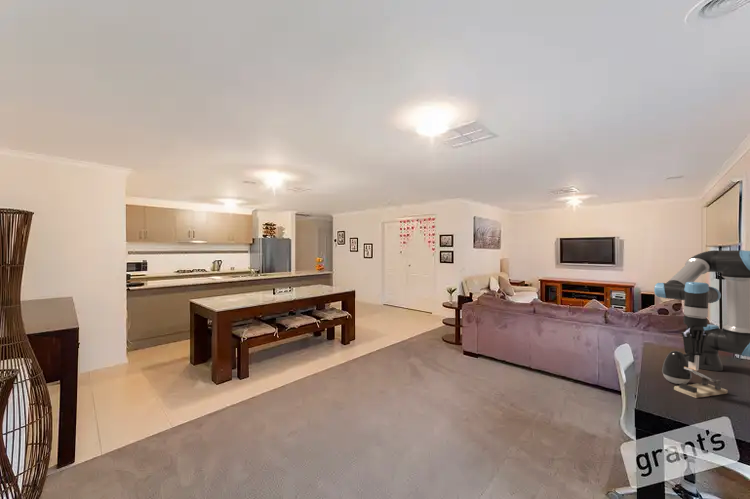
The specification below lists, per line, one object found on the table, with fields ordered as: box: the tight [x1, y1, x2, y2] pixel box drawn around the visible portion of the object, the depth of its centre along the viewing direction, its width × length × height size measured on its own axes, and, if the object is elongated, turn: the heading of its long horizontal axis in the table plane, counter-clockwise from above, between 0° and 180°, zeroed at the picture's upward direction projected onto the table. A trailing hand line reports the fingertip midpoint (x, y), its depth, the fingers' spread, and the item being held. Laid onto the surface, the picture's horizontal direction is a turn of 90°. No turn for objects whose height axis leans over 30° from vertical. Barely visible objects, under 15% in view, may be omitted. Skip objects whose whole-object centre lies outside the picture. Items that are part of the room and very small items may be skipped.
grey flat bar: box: [684, 367, 716, 384], centre depth 141 cm, size 17×3×1 cm, turn 105°
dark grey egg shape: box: [661, 350, 692, 385], centre depth 151 cm, size 10×10×15 cm
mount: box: [673, 375, 728, 399], centre depth 141 cm, size 20×8×6 cm, turn 105°
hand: (693, 369), depth 140 cm, fingers closed
